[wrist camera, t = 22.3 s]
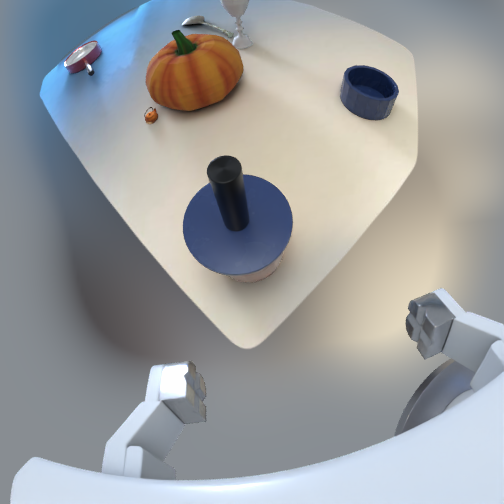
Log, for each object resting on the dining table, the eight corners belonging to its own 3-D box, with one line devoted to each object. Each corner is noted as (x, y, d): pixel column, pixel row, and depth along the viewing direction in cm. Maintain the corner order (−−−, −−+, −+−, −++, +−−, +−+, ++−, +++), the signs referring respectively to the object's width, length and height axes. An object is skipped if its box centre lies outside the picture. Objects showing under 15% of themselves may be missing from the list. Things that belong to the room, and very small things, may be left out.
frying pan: (128, 66, 55) (119, 50, 49) (88, 96, 54) (77, 81, 48) (96, 46, 64) (89, 34, 57) (66, 69, 62) (58, 57, 56)
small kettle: (144, 118, 48) (139, 110, 46) (157, 111, 48) (152, 102, 46) (147, 126, 47) (142, 118, 45) (161, 118, 48) (156, 110, 45)
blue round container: (395, 99, 44) (403, 81, 39) (382, 128, 43) (391, 109, 37) (350, 78, 47) (354, 59, 41) (332, 104, 45) (336, 83, 40)
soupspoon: (197, 19, 61) (179, 28, 60) (194, 11, 57) (176, 20, 57) (241, 33, 54) (221, 43, 54) (239, 23, 51) (218, 33, 51)
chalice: (236, 53, 52) (224, -10, 34) (222, 44, 53) (209, -14, 36) (262, 43, 52) (256, -18, 35) (247, 34, 54) (239, -22, 37)
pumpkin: (258, 100, 46) (250, 36, 32) (161, 134, 46) (128, 78, 32) (231, 53, 52) (220, 2, 37) (152, 80, 52) (129, 33, 37)
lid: (310, 208, 30) (326, 149, 20) (254, 298, 27) (247, 272, 17) (224, 165, 32) (209, 102, 22) (165, 242, 29) (124, 196, 20)
